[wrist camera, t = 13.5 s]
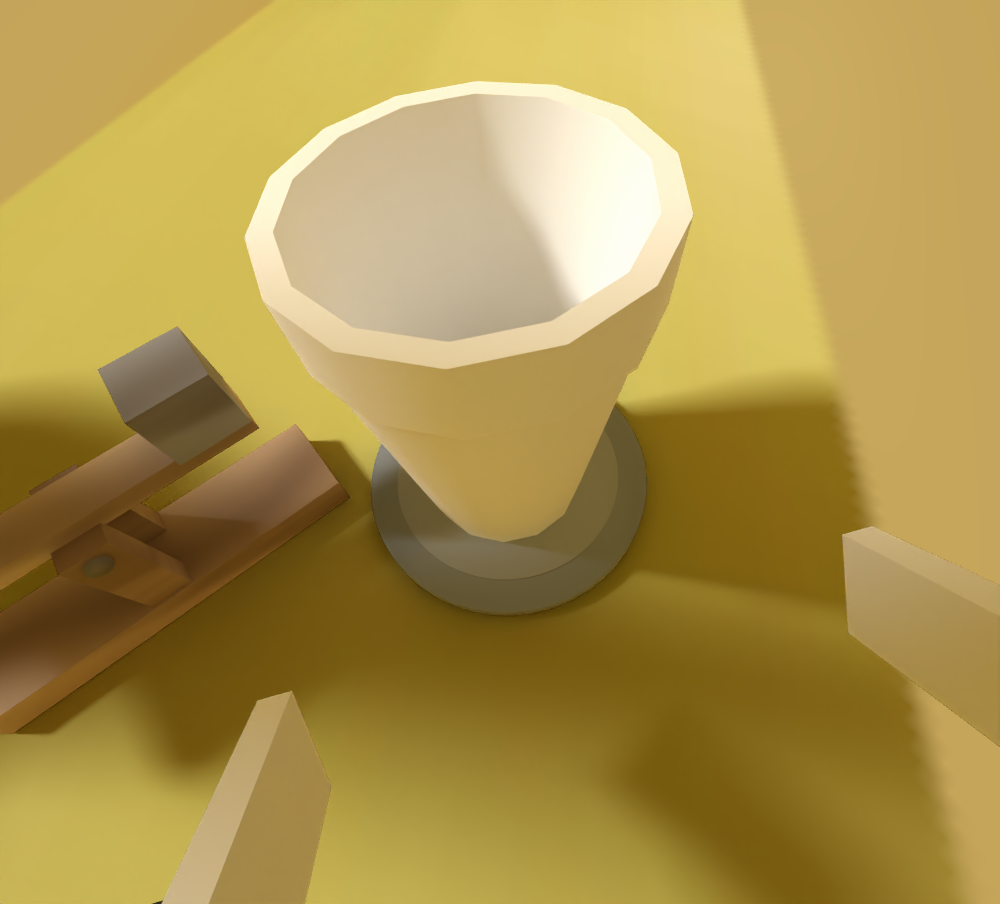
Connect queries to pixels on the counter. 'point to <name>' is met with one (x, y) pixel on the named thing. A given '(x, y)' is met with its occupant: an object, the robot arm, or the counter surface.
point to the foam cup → (477, 282)
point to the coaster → (522, 562)
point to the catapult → (145, 525)
